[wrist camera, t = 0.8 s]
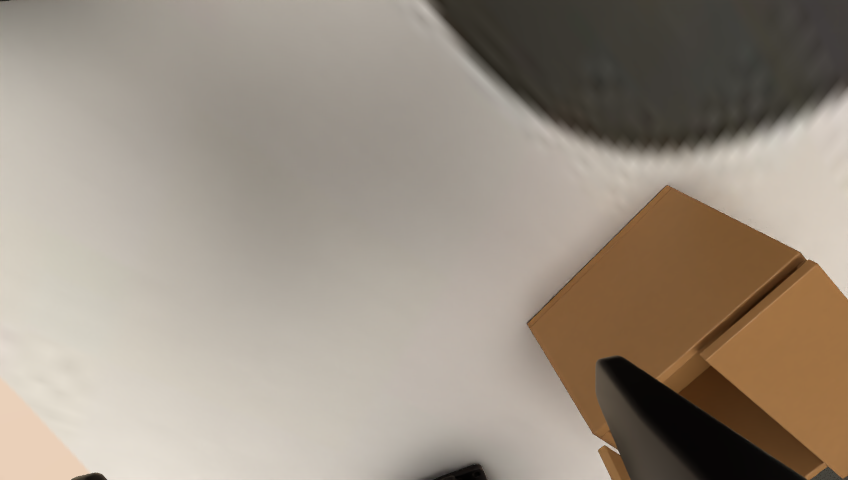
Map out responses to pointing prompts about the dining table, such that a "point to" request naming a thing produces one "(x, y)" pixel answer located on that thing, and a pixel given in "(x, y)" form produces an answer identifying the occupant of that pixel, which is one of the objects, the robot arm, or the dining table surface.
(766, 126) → the dining table surface
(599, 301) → the carton
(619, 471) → the flap
